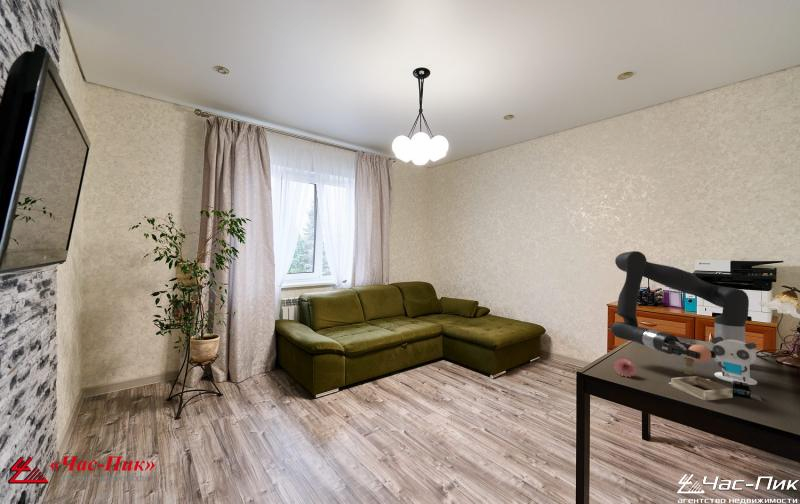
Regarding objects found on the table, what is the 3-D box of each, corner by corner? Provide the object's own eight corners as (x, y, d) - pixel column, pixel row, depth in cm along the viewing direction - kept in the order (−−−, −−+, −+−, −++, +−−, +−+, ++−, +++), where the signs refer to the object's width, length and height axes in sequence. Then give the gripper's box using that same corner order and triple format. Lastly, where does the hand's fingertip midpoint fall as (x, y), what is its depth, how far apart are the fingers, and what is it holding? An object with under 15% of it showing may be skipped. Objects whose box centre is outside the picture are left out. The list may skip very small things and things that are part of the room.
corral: (696, 383, 118) (696, 375, 118) (732, 397, 107) (732, 388, 107) (671, 386, 116) (671, 378, 116) (705, 400, 105) (705, 391, 105)
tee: (687, 371, 130) (687, 350, 130) (699, 375, 125) (699, 353, 125) (678, 371, 129) (678, 351, 129) (690, 376, 125) (690, 354, 125)
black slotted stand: (716, 394, 111) (716, 381, 111) (714, 387, 116) (714, 375, 116) (770, 405, 102) (770, 391, 102) (766, 397, 108) (766, 384, 108)
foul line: (707, 379, 121) (707, 378, 121) (710, 380, 120) (710, 379, 120) (668, 383, 119) (668, 382, 119) (671, 384, 118) (671, 383, 118)
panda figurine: (706, 375, 126) (706, 337, 125) (720, 370, 130) (720, 334, 130) (748, 387, 115) (748, 346, 114) (763, 381, 119) (763, 342, 119)
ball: (697, 358, 115) (697, 342, 115) (716, 364, 109) (716, 347, 109) (683, 359, 114) (683, 342, 114) (701, 365, 108) (702, 348, 108)
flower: (617, 355, 132) (619, 351, 128) (639, 367, 127) (642, 364, 123) (608, 371, 130) (610, 367, 126) (630, 384, 126) (633, 380, 121)
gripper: (644, 332, 124) (690, 345, 108) (675, 331, 126) (724, 343, 110) (644, 351, 124) (690, 367, 108) (675, 349, 127) (724, 365, 110)
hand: (707, 355), depth 109 cm, fingers closed on ball, 6 cm apart
